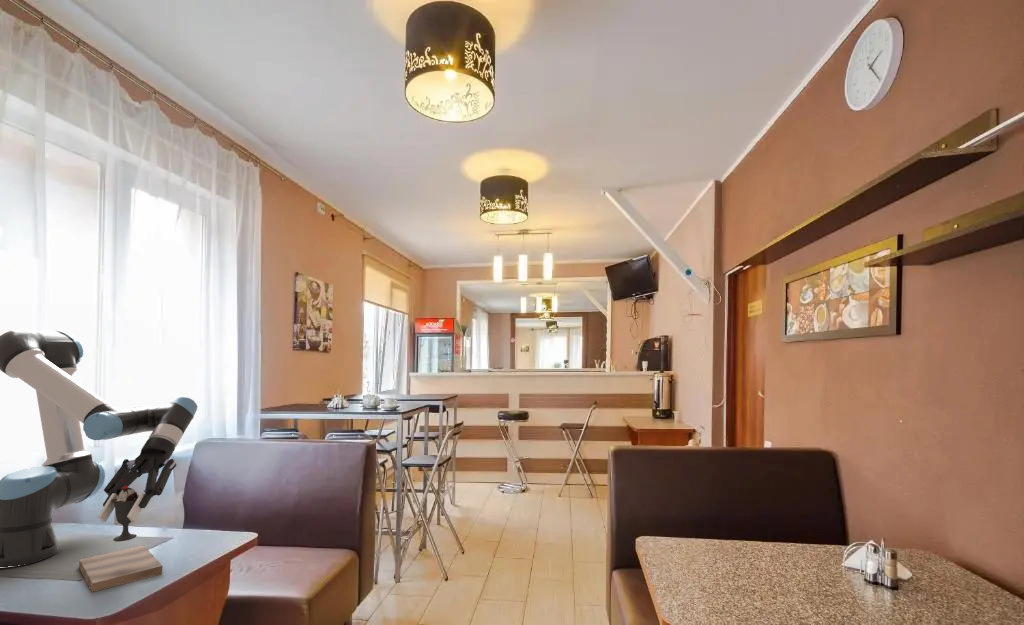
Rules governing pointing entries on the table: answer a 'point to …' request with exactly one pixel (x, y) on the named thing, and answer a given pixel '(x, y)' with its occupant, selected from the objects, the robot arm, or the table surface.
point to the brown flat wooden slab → (119, 567)
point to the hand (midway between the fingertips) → (116, 519)
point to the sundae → (124, 511)
